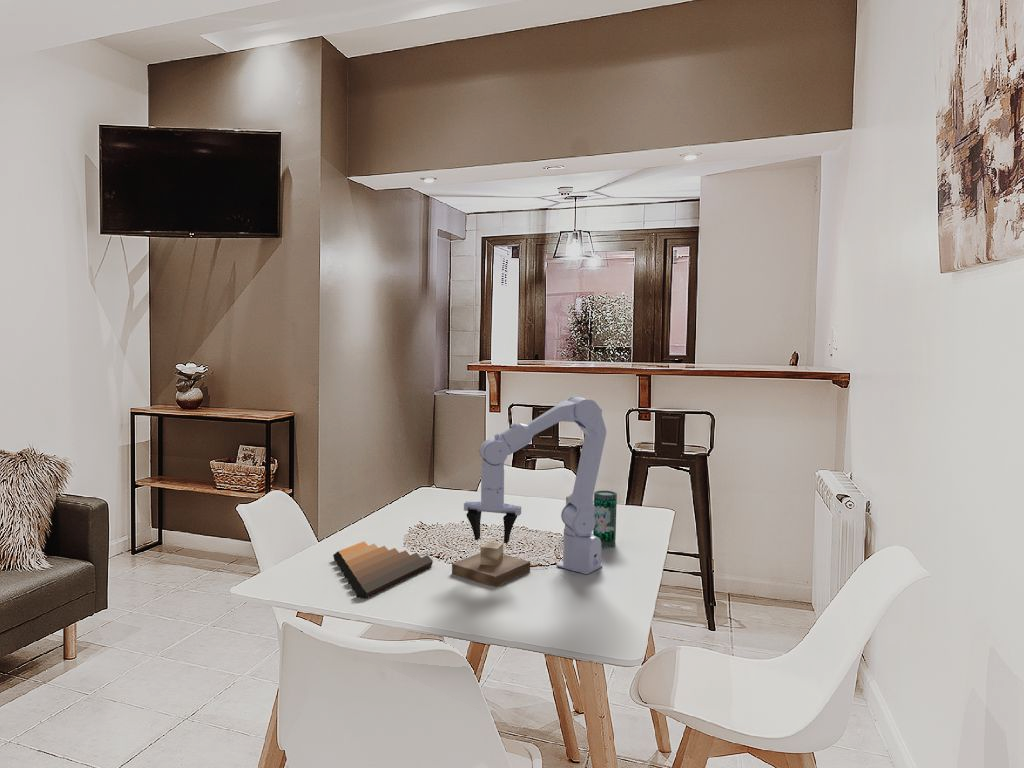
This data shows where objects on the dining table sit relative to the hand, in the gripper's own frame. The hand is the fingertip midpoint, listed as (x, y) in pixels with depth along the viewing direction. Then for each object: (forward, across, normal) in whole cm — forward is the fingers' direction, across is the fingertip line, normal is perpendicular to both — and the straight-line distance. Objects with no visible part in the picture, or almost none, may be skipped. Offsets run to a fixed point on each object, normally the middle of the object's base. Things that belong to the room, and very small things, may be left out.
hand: (491, 540), depth 167 cm
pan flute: (+9, +30, +10) cm, 33 cm away
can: (+8, -24, -32) cm, 41 cm away
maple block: (+6, 0, 0) cm, 6 cm away
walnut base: (+8, 0, 0) cm, 8 cm away
